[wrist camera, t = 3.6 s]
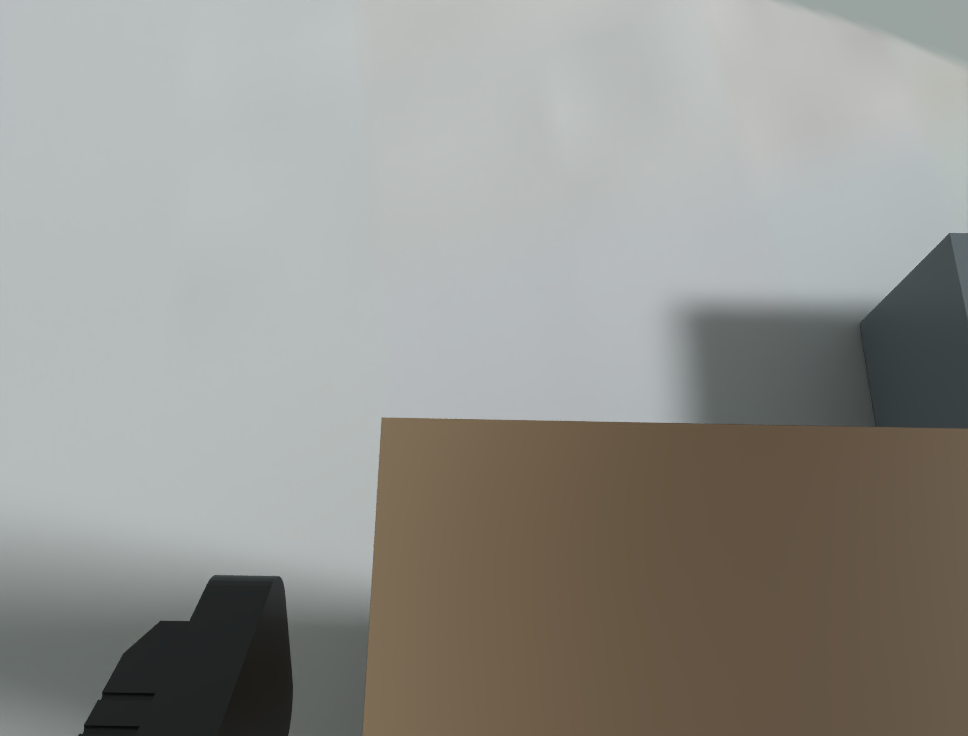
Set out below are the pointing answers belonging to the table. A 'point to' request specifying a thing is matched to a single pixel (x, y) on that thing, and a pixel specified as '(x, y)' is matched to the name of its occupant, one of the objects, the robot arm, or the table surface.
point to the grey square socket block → (922, 343)
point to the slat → (668, 580)
